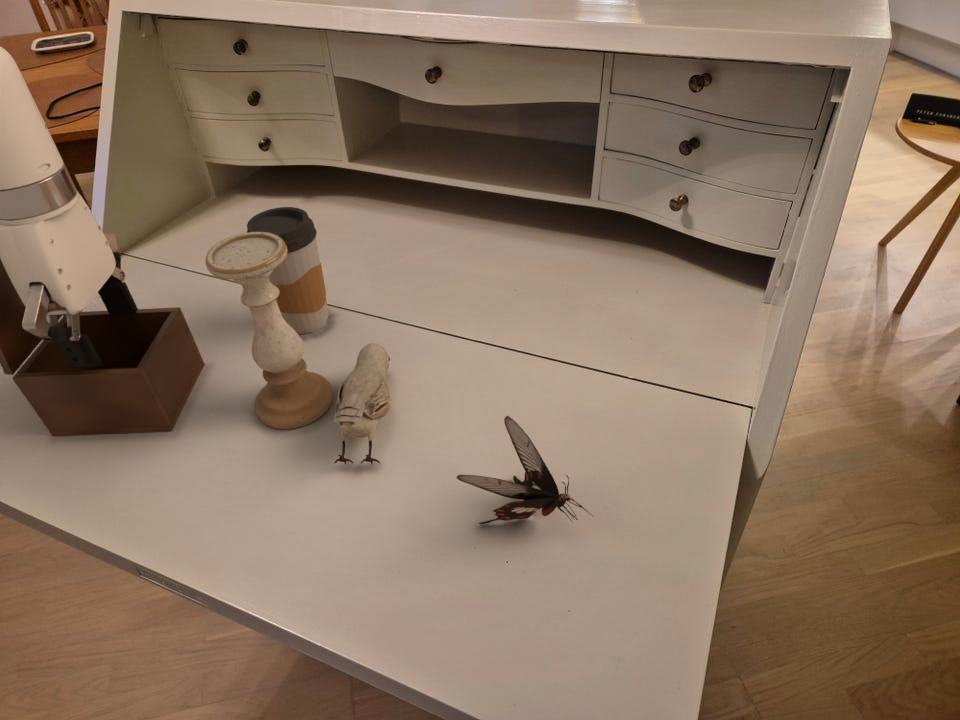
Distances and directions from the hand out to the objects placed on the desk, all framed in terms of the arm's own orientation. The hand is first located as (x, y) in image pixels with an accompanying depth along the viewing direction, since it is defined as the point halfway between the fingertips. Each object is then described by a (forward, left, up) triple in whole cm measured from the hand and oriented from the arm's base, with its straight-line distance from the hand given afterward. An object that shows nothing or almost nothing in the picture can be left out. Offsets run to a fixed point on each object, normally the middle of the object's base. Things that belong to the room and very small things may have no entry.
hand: (106, 337), depth 70 cm
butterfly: (+44, -20, -9) cm, 50 cm away
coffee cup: (+17, +14, -9) cm, 24 cm away
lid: (-6, 0, +7) cm, 9 cm away
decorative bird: (+28, -5, -9) cm, 30 cm away
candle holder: (+19, -2, -9) cm, 21 cm away
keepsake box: (-1, 0, -9) cm, 9 cm away
